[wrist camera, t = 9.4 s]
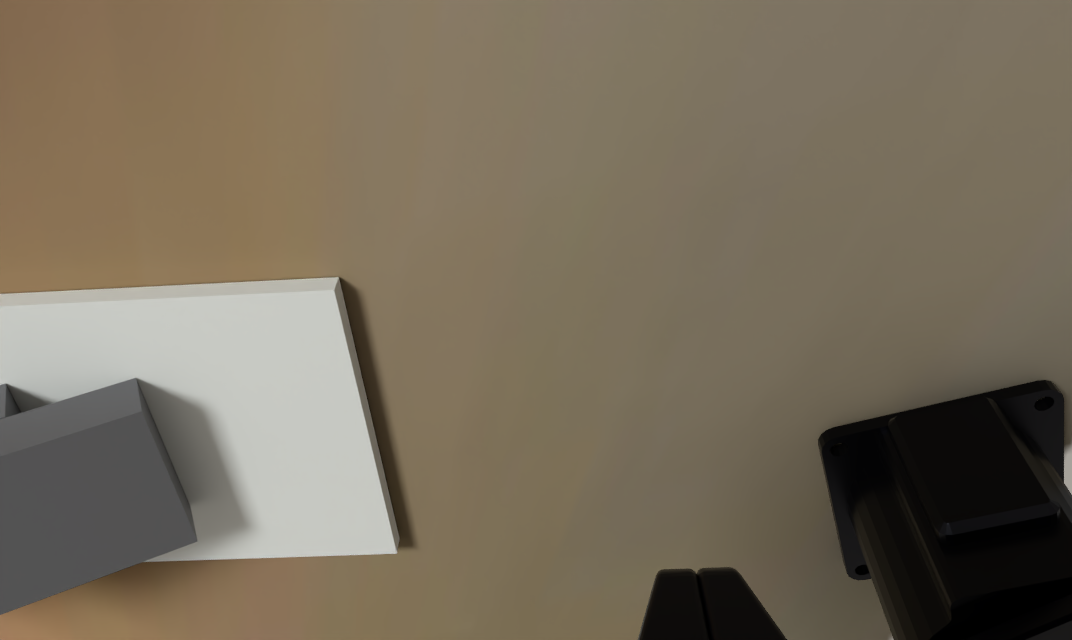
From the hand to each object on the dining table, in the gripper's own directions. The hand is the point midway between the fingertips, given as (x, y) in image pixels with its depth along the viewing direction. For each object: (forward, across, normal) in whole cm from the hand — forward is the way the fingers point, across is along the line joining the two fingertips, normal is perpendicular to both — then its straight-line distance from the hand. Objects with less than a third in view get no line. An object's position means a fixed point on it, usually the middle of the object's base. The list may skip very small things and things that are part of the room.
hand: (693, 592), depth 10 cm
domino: (+12, +13, +9) cm, 20 cm away
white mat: (+13, +17, +9) cm, 23 cm away
